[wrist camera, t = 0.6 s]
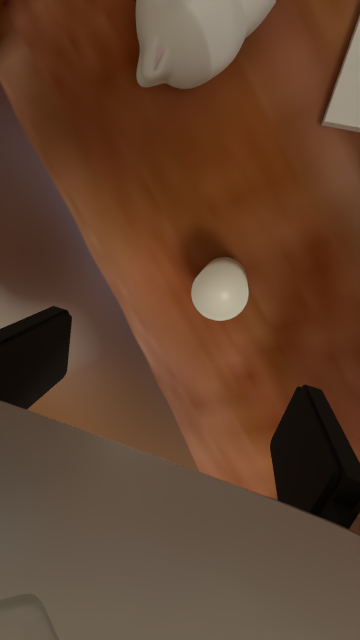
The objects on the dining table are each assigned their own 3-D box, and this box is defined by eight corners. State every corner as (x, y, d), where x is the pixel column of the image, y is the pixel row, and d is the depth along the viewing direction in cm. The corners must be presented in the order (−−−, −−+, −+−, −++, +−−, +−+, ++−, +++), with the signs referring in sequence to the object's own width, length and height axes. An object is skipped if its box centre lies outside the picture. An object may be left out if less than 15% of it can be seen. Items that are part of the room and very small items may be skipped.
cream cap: (252, 263, 29) (256, 273, 22) (238, 306, 31) (238, 327, 24) (207, 251, 29) (198, 258, 23) (197, 294, 31) (185, 312, 25)
